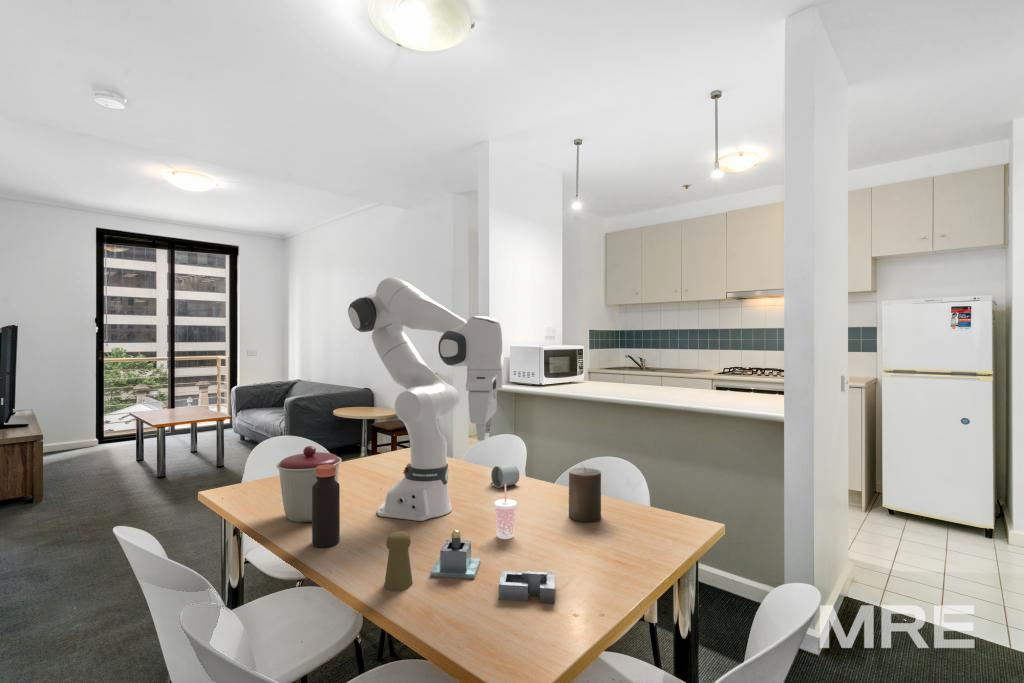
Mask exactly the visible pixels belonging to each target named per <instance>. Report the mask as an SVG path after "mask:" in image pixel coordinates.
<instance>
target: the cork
mask: <svg viewBox="0 0 1024 683" xmlns="http://www.w3.org/2000/svg"><path fill="white" fill-rule="evenodd" d="M385 542H386V548H387V549H388V553H387V554H388V555H387V556H388V557H387V562H386V571H385V578H384V588H385V589H386V590H388V591H391V592H392V591H394V592H397V591H399V592H400V591H403V590H407V589H409V588H410V587H411V586H413V576H412V574H413V573H412V567H411V560H410V552H409V548H410V546H411V542H412V538H411V535H410V534H409V533H408V532H406V531H394V532H392V533H390V534H389V535H388V536H387V538H386V541H385Z"/></svg>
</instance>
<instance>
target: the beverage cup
mask: <svg viewBox="0 0 1024 683" xmlns="http://www.w3.org/2000/svg"><path fill="white" fill-rule="evenodd" d="M517 504H518V503H517V501H516V500H514V499H510V498H507V486H506V484H505V487H504V498H502V499H501V498H500V499H497V500H496V501H494V503H493V505H494V506H493V507H494V509H495V510H494V512H495V524H496V525H495V526H496V527H495V528H496V537H497V538H499V539H501V540H509V539H512V538H514V536H515V525H516V523H515V522H516V507H517Z"/></svg>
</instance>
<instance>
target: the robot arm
mask: <svg viewBox="0 0 1024 683" xmlns="http://www.w3.org/2000/svg"><path fill="white" fill-rule="evenodd" d="M347 312H348V313H347V314H348V317H349V321H350V323H351V325H352V326H353V328H354V329H355V330H357V331H358V332H359V333H368V332H372V333H371V339H372V343H373V346H374V348H375V351H376V352H377V354H378V357H379V358H380V360H381V362H382V363H383V365H384V367H385V368H386V370H387V372H388V373H389V375H390V376H391V378H392V380H393V381H394V382H395V383H397V385H399V386H401V387H403V388H404V389H405V390H404V391H402V392H400V393H399V394H398V395H397V397H396V398H395V400H394V401H395V402H394V412H395V415H396V416H397V418H398V419H399V420H400V421H401V422H402V423H403V424H404V425H405V428H406V431H407V433H408V438H409V444H410V446H409V447H410V448H409V449H410V462H409V463H408V464H406V466H405V467H404V469H403V470H402V471H403V472H402V473H403V475H404V477H402V479H400V480H398V482H396V483H395V484H394V485H393V486H391V487H390V488H389V489H388V491H387V493H386V496H385V501H384V502H383V503H382V504H381V505H380V506H379V507H378V508H377V516H379V517H385V518H393V519H400V520H409V521H418V522H419V521H420V522H422V521H426V520H428V519H431V518H432V519H433V518H438V517H441V516H445V515H447V514H449V513H450V512H451V511H452V510H453V507H452V504H451V500H450V494H449V489H448V483H449V464H448V462H447V458H448V457H447V456H448V454H447V450H448V449H447V448H448V447H447V444H448V442H447V441H448V440H447V439H446V438H447V437H446V436H444V434H442V433H441V431H440V427H439V420H438V419H441V418H445V417H447V416H448V415H450V414H452V413H453V412H454V411H456V409H457V408H458V407H459V405H460V404H459V403H460V395H459V392H458V390H457V389H456V388H455V387H454V386H453V385H451V384H449V383H447V382H446V381H445V380H443V379H442V378H441V376H439V375H438V374H437V373H436V372H435V371H434V370H432V368H430V366H428V364H427V363H426V361H425V360H424V359H423V358H422V356H421V355H420V353H419V351H418V350H417V349H416V347H415V345H414V343H413V342H412V341H411V339H410V338H409V337H408V335H407V333H406V332H405V330H404V327H406V328H407V329H411V330H418V331H419V330H421V331H432V332H437V333H441V334H442V335H441V336H440V338H439V340H438V344H437V345H438V355H439V358H440V359H441V361H442V362H443V364H445V365H447V366H450V367H466V382H465V390H466V392H468V400H467V401H468V412H469V419H470V422H471V424H474V425H475V429H476V435H477V436H476V438H477V441H484V440H486V434H490V433H491V432H492V425H493V424H492V423H493V416H494V414H496V412H497V409H498V407H497V406H498V404H497V403H498V402H497V395H498V390H499V389H502V388H503V365H502V360H501V358H502V355H503V332H502V327H501V324H500V321H499V320H498V319H496V318H494V317H492V316H491V317H490V316H484V315H471V316H470V317H469V318H468V319H467V320H466V318H463V317H462V316H460V315H459V314H457V313H455V312H453V311H451V310H449V309H447V308H446V307H445V306H443V305H442V304H440V303H438V302H436V301H435V300H433V299H432V298H430V297H429V296H428V295H427V294H425V293H423V292H422V291H421V290H420V289H418V288H417V287H415V286H414V285H412V284H411V283H409V282H407V281H405V280H404V279H400V278H398V277H395V276H390V277H386V278H384V279H382V280H381V281H380V282H379V283H378V285H377V287H376V291H375V292H373V293H371V294H368V295H366V296H363V297H359V298H356V299H355V300H353V301H352V302H351V303H349V307H348V309H347Z"/></svg>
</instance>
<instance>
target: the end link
mask: <svg viewBox="0 0 1024 683" xmlns="http://www.w3.org/2000/svg"><path fill="white" fill-rule="evenodd" d="M439 553H440V554H439V555H440V556H439V557H440V570H442V571H464V572H466V571H467V569H468V566H469V564H470V561H471V558H472V540H461V544H460V549H452V539H446V540H445V541H444V543H443V545H442V546H441V548H440V551H439Z"/></svg>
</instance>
